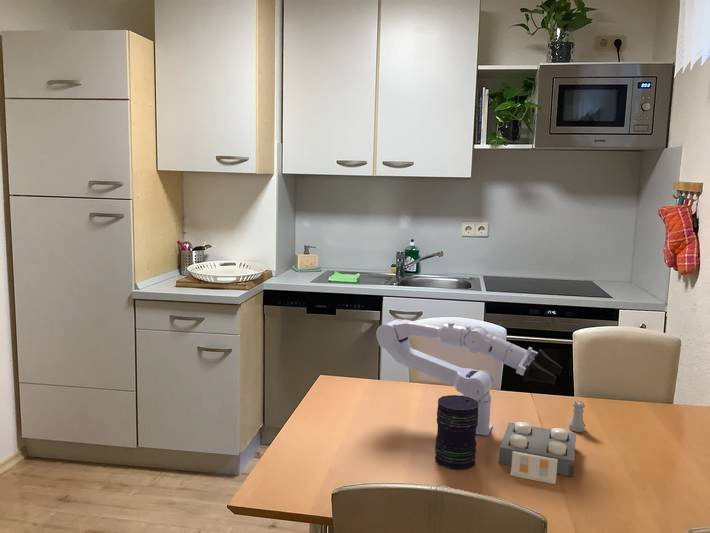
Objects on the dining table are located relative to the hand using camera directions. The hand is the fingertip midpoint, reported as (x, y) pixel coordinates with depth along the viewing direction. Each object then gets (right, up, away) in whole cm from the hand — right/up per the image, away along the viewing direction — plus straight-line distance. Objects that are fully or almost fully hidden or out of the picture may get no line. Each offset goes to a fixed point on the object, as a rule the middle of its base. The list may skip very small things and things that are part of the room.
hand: (558, 376), depth 157 cm
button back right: (0, -17, -1) cm, 17 cm away
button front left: (-12, -17, -6) cm, 22 cm away
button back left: (-9, -16, +2) cm, 18 cm away
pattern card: (-11, -21, -15) cm, 28 cm away
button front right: (-4, -18, -9) cm, 21 cm away
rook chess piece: (+10, -18, +14) cm, 24 cm away
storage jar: (-28, -20, -8) cm, 35 cm away
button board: (-6, -19, -3) cm, 21 cm away
